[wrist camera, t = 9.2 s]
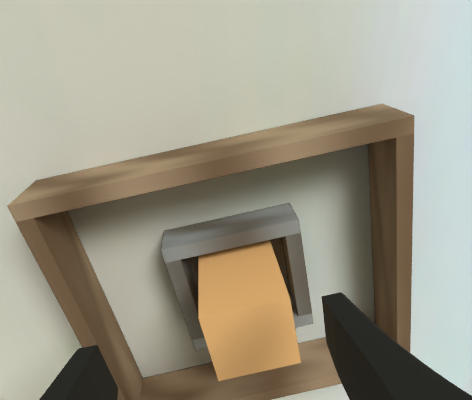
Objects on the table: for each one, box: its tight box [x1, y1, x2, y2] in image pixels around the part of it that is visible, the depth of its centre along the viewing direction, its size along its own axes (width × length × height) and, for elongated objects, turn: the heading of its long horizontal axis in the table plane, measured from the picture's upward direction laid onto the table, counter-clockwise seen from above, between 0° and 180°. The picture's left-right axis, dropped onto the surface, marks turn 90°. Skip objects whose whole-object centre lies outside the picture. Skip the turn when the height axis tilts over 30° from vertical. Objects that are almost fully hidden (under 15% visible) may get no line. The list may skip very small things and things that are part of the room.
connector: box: [198, 240, 301, 381], centre depth 19 cm, size 4×4×6 cm
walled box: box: [7, 104, 414, 400], centre depth 20 cm, size 18×16×3 cm
